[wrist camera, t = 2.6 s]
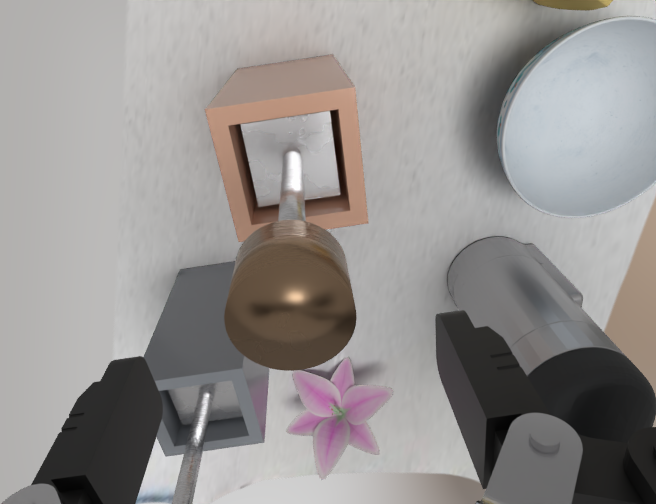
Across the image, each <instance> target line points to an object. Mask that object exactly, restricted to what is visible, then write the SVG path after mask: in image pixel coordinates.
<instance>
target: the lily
mask: <svg viewBox="0 0 656 504" xmlns="http://www.w3.org/2000/svg"><path fill="white" fill-rule="evenodd" d="M293 380H294V383H295V386H296V389H297V391H298V394H299V396H300V399H301V401H302V403H303V404H304V406H305V407H306V410H304V411H303V412H302V413H301V414H300V415H298V416H297V417H296V418H295V419H294V420H293V421H292V422H291V423H290V425H289V426H288V427H287V429H286V432H287V433H289V434H294V435H302V436H313V449H314V457H315V463H316V468H317V472H318V475H319V477H320V478H321V480H323V479H325V478H326V477H327V476H328V475H329V474H330V472H331V471H332V469H333V468H334V466H335V465H336V463H337V462H338V460H339V458H340V457H341V455H342V454H343V452H344V450H345V449H346V447H347V445H348V444H349V445H351V446H353V447H355V448H357V449H360V450H362V451H365V452H368V453H371V454H375V455H378V454H380V450H379V447H378V444H377V442H376V440H375V437H374V435H373V433H372V431H371V429H370V427H369V425H368V424H367V422H366V421H367V420H369V419H370V418H371V417H372V416H373V415H374V414H375V413H376V412H377V411H378V410H379V409H380V408H381V407H383V406H384V405H385V403H386V402H387V401H388V400H389V399H390V398H391V397H392V395H393V393H394V390H393V389H392V388H389V387H384V386H376V385H356V386H355V381H354V375H353V369H352V365H351V361H350V358H349V357H347V358H345V359H344V360H343V361H342V362H341V363H340V365H339V366H338V368H337V369H336V371H335V372H334V374H333V376H332V378H331V380H330V381H329V380H327V379H325V378H323V377H320V376H318V375H315V374H312V373H309V372H305V371H302V370H296V371H293Z"/></svg>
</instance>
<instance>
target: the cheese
mask: <svg viewBox="0 0 656 504" xmlns="http://www.w3.org/2000/svg"><path fill="white" fill-rule="evenodd" d="M533 1H534V2H536V3H537V4H538V5H543V6H547V7H551V8H557V9H567V10H594V9H599V8H603V7H607V6H608V5H609V4H610V3H611V2H612V1H613V0H533Z"/></svg>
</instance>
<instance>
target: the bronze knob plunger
mask: <svg viewBox="0 0 656 504" xmlns="http://www.w3.org/2000/svg"><path fill="white" fill-rule="evenodd" d="M240 125H241V130H242V134H243V139H244V143H245V148H246V152H247V157H248V161H249V166H250V170H251V175H252V179H253V184H254V188H255V193H256V197H257V202H258V206H259V207H262V206H269V205H275V204H279V218H278V221H276V222H272V223H269V224H267V225H265V226H263V227H260V228H259V229H257V230H256V231H254V232H253V233H252V234H251V235H250V236H249V237H248V238H247V239H246V240H245V241H244V243H243V244H242V246H241V247H240V250H239V252H238V254H237V258H236V262H235V267H234V271H233V276H232V280H231V285H230V289H229V294H228V298H227V303H226V307H225V314H224V323H225V328H226V332H227V334H228V337H229V338H230V340H231V342H232V344H233V345H234V346H235V347H236V349H237V350H238V351H239V352H240V353H241V354H243V355H244V356H245V357H247V358H248V359H250V360H251V361H253V362H255V363H257V364H259V365H262V366H265V367H268V368H272V369H277V370H302V369H307V368H311V367H315V366H318V365H320V364H322V363H325V362H326V361H328V360H330V359H332V358H333V357H334V356H336V355H337V354H338V353H339V352H340V351H341V350H342V349H343V348H344V347H345V346H346V345H347V343H348V342H349V340H350V339H351V337H352V334H353V332H354V329H355V325H356V309H355V304H354V299H353V293H352V288H351V283H350V278H349V273H348V268H347V263H346V258H345V254H344V252H343V249H342V248H341V246H340V244H339V243H338V241H337V240H336V239H335V238H334V237H333V236H332V235H331V234H330V233H329V232H328V231H326V230H325V229H323V228H321V227H320V226H317V225H315V224H313V223H310V222H306V218H305V200H309V199H316V198H323V197H330V196H337V195H340V187H339V179H338V171H337V163H336V155H335V147H334V139H333V131H332V124H331V116H330V111H323V112H317V113H310V114H303V115H296V116H289V117H283V118H276V119H269V120H262V121H256V122H249V123H242V124H240Z"/></svg>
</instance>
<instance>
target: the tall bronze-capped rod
mask: <svg viewBox="0 0 656 504" xmlns="http://www.w3.org/2000/svg"><path fill="white" fill-rule="evenodd" d="M168 391H169V394H170V396H171V399H172V401H173V403H174V406H175V408H176V411H177V413H178V416H179V418H180V420H181V423H182V425H186V424H191V428H190V432H189V436H188V440H187V444H186V448H185V452H184V457H183V461H182V465H181V469H180V473H179V477H178V481H177V486H176V490H175V494H174V498H173V502H172V504H192V502H193V497H194V492H195V487H196V482H197V477H198V472H199V467H200V462H201V457H202V452H203V447H204V442H205V437H206V432H207V427H208V422H209V421H214V420H221V419H228V418H235V417H242V416H243V414H242V411H241V408H240V405H239V402H238V399H237V395H236V392H235V389H234V386H233V383H232V380H231V381H224V382H218V383H211V384H204V385H197V386H190V387H183V388H176V389H169V390H168Z"/></svg>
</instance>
